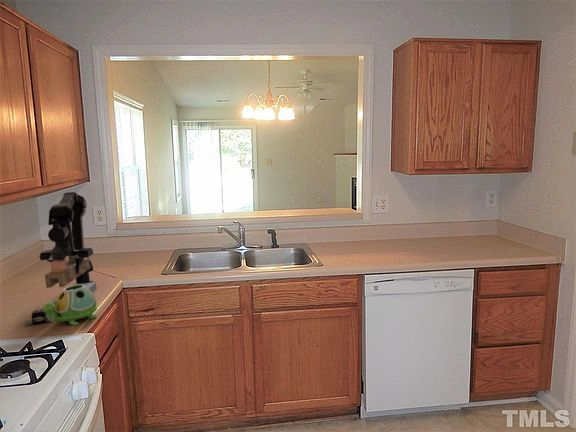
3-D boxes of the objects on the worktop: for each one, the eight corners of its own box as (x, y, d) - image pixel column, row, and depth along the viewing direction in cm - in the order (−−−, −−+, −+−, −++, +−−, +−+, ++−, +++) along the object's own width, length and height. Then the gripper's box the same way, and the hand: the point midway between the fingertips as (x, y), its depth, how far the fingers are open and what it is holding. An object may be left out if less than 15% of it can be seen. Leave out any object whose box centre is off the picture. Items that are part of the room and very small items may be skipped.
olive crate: (73, 259, 181) (72, 250, 180) (83, 259, 181) (82, 249, 180) (69, 262, 177) (67, 252, 176) (78, 261, 177) (77, 252, 176)
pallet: (75, 269, 185) (73, 257, 184) (90, 268, 185) (88, 257, 184) (46, 287, 161) (44, 275, 160) (63, 286, 161) (61, 274, 160)
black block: (60, 316, 159) (58, 304, 159) (57, 323, 153) (56, 311, 152) (22, 322, 155) (20, 310, 154) (17, 330, 149) (15, 318, 148)
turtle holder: (37, 326, 150) (32, 294, 148) (87, 309, 164) (83, 279, 162) (54, 334, 143) (49, 300, 141) (105, 315, 157) (101, 284, 155)
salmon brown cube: (56, 269, 167) (55, 259, 166) (67, 268, 167) (65, 259, 166) (51, 272, 163) (50, 262, 162) (62, 272, 163) (61, 261, 162)
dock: (75, 290, 187) (74, 283, 186) (96, 288, 187) (95, 282, 187) (48, 312, 162) (47, 304, 162) (73, 311, 163) (72, 303, 162)
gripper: (29, 242, 162) (35, 282, 164) (80, 240, 163) (85, 279, 165) (44, 236, 173) (49, 273, 175) (91, 233, 174) (96, 270, 176)
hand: (69, 274), depth 173 cm, fingers closed on pallet, 6 cm apart
